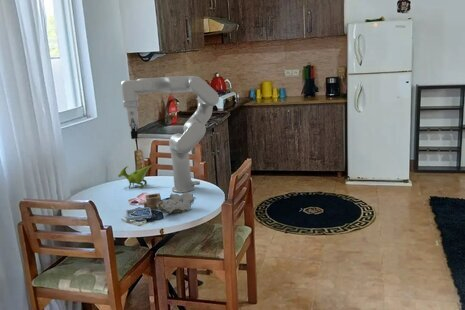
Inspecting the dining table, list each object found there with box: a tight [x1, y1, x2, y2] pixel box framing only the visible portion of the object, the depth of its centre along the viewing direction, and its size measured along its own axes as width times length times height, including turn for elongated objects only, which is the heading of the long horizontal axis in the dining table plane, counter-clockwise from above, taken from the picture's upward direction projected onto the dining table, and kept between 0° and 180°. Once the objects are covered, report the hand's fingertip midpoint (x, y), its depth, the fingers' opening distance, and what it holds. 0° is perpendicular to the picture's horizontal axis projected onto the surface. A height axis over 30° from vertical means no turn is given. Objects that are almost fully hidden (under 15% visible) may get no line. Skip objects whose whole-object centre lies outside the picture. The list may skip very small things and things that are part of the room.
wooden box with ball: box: [143, 192, 162, 211], centre depth 229 cm, size 8×7×6 cm
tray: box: [125, 207, 153, 223], centre depth 218 cm, size 12×12×2 cm
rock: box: [156, 192, 195, 215], centre depth 221 cm, size 19×11×10 cm, turn 128°
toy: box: [117, 164, 153, 189], centre depth 267 cm, size 8×21×15 cm, turn 82°
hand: (134, 137), depth 240 cm, fingers open, 9 cm apart
